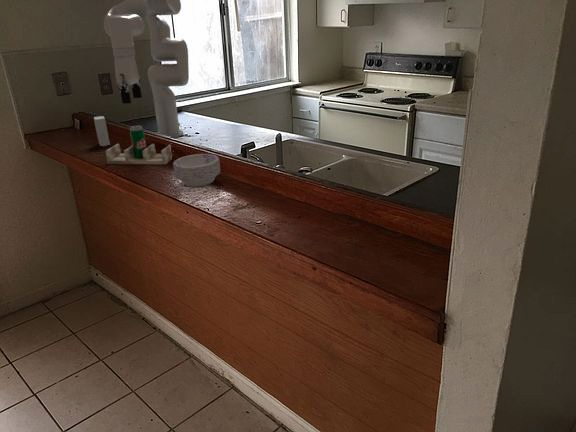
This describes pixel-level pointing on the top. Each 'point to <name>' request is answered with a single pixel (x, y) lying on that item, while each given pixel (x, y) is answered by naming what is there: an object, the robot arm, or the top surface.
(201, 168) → the paper bowls
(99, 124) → the skincare box
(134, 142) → the soda can
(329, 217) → the top surface
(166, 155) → the can rack
